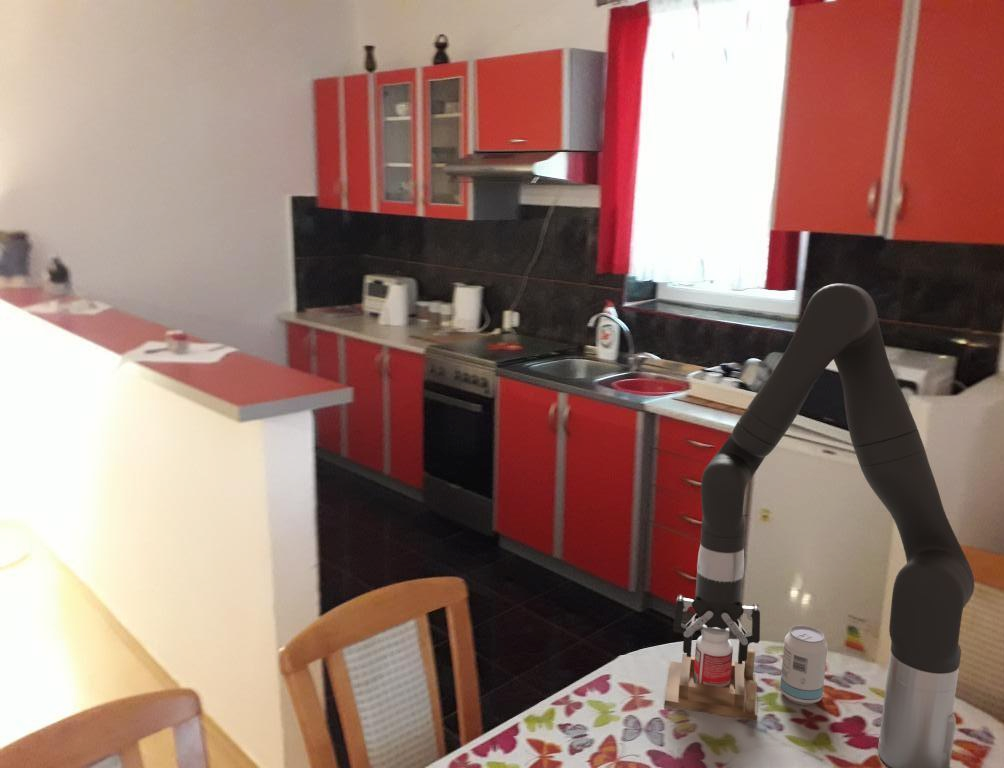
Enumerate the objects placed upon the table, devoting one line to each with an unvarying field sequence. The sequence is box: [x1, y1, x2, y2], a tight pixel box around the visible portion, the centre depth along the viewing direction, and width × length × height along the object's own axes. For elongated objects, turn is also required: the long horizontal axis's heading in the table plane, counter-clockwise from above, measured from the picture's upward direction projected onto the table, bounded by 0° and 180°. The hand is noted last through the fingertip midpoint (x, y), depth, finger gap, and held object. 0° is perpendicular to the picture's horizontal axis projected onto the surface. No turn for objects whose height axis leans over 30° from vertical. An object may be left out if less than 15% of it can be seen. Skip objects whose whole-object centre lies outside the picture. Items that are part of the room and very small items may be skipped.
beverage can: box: [779, 625, 829, 706], centre depth 142 cm, size 7×7×12 cm
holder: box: [663, 648, 758, 722], centre depth 143 cm, size 15×13×6 cm
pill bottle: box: [694, 625, 734, 688], centre depth 142 cm, size 6×6×11 cm
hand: (714, 658), depth 142 cm, fingers open, 8 cm apart
